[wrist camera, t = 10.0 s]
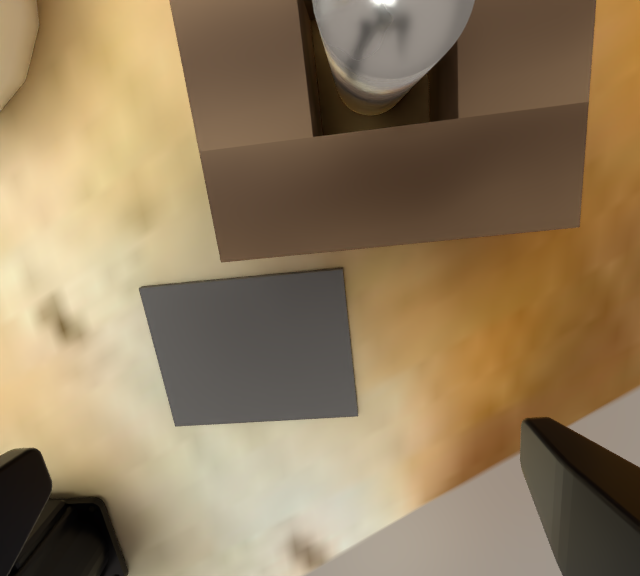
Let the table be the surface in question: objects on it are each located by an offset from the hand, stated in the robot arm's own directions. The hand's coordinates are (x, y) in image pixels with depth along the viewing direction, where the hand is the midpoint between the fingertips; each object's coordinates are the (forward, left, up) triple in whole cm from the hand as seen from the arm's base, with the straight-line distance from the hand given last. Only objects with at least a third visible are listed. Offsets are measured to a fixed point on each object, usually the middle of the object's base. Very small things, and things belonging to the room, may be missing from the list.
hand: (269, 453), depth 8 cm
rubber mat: (-4, +4, -13) cm, 14 cm away
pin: (+8, -3, -13) cm, 15 cm away
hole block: (+8, -3, -13) cm, 15 cm away
